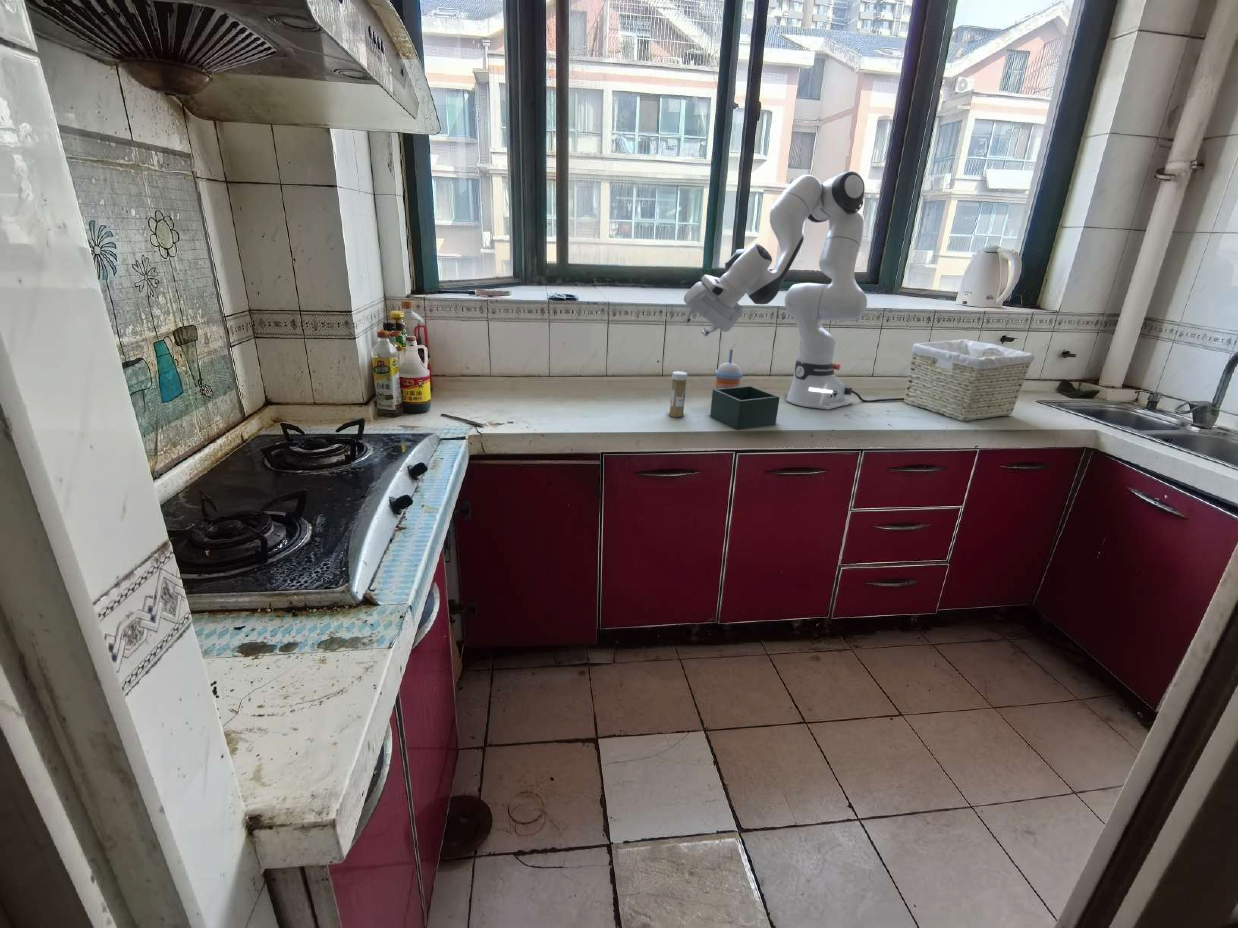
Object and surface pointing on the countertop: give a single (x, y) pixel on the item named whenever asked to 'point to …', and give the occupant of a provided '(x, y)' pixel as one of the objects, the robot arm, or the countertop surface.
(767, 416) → the bin
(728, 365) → the cup with straw
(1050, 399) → the countertop surface
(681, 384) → the sprinkles bottle
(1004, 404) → the basket
